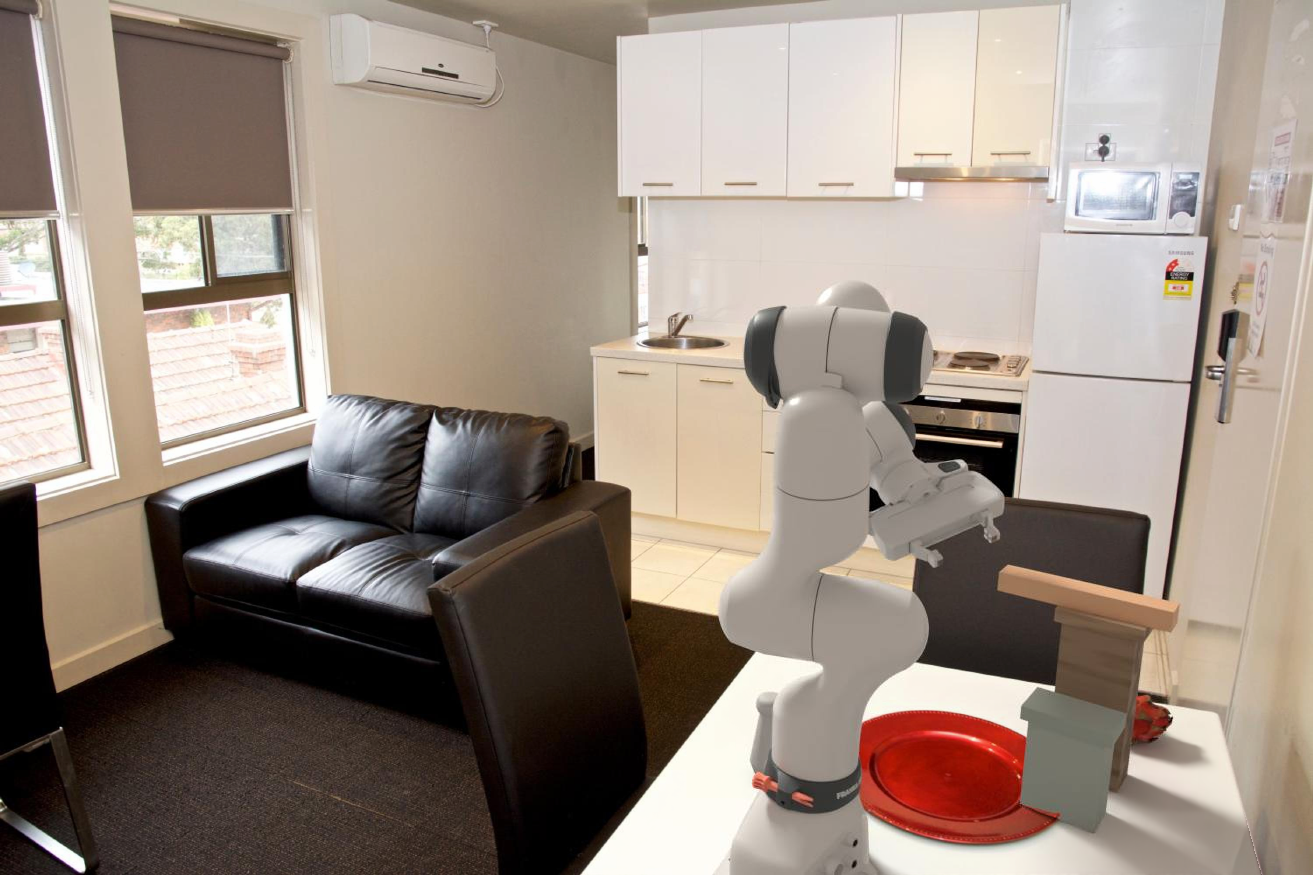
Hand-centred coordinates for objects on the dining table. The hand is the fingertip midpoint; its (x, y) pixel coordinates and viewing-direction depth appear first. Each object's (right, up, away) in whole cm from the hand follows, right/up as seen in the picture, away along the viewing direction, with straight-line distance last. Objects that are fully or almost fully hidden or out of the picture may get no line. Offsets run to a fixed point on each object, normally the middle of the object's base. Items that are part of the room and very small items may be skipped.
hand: (967, 550), depth 137 cm
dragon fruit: (+32, -32, +17) cm, 48 cm away
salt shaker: (-28, -35, +6) cm, 45 cm away
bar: (+18, -9, +3) cm, 20 cm away
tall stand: (+20, -34, +7) cm, 41 cm away
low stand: (+13, -36, -2) cm, 39 cm away
